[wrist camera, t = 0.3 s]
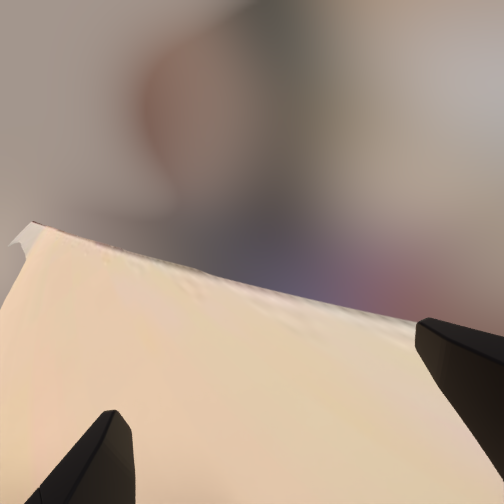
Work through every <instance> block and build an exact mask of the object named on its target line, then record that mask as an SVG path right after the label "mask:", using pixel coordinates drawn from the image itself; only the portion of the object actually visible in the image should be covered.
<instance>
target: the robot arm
mask: <svg viewBox="0 0 504 504" xmlns="http://www.w3.org/2000/svg"><path fill="white" fill-rule="evenodd" d="M415 347H416V350H417V352H418V354H419V355H420V357H421V359H422V360H423V362H424V364H425V365H426V367H427V369H428V370H429V372H430V374H431V375H432V377H433V379H434V381H435V382H436V384H437V385H438V387H439V388H440V390H441V391H442V393H443V394H444V395H445V397H446V398H447V399H448V401H449V402H450V403H451V405H452V406H453V408H454V409H455V410H456V412H457V413H458V415H459V416H460V417H461V419H462V420H463V422H464V423H465V424H466V426H467V427H468V429H469V430H470V431H471V433H472V434H473V436H474V437H475V439H476V440H477V442H478V443H479V444H480V446H481V447H482V449H483V450H484V452H485V453H486V455H487V456H488V458H489V459H490V461H491V462H492V464H493V465H494V467H495V468H496V470H497V472H498V473H499V475H500V476H501V478H502V479H503V481H504V337H503V336H498V335H494V334H491V333H487V332H483V331H479V330H475V329H471V328H468V327H464V326H460V325H456V324H452V323H448V322H445V321H441V320H437V319H433V318H425V319H423V320H421V321H419V322H418V323H417V324H416V334H415ZM39 487H40V488H37V490H36V491H35V492H34V493H33V494H32V495H31V497H30V498H29V499H28V500H27V501H26V502H25V503H24V504H135V465H134V454H133V441H132V432H131V429H130V427H129V425H128V424H127V423H126V421H125V420H124V419H123V417H122V416H121V414H120V413H119V412H118V411H117V410H108V411H104V412H103V413H102V414H101V415H100V416H99V417H98V418H97V420H96V421H95V422H94V423H93V424H92V425H91V426H90V428H89V429H88V430H87V431H86V432H85V433H84V435H83V436H82V437H81V438H80V439H79V440H78V442H77V443H76V444H75V445H74V446H73V447H72V449H71V450H70V451H69V452H68V453H67V454H66V456H65V457H64V458H63V459H62V460H61V461H60V463H59V464H58V465H57V466H56V467H55V468H54V470H53V471H52V472H51V473H50V474H49V475H48V477H47V478H46V479H45V480H44V481H43V483H42V484H41V485H40V486H39Z"/></svg>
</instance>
